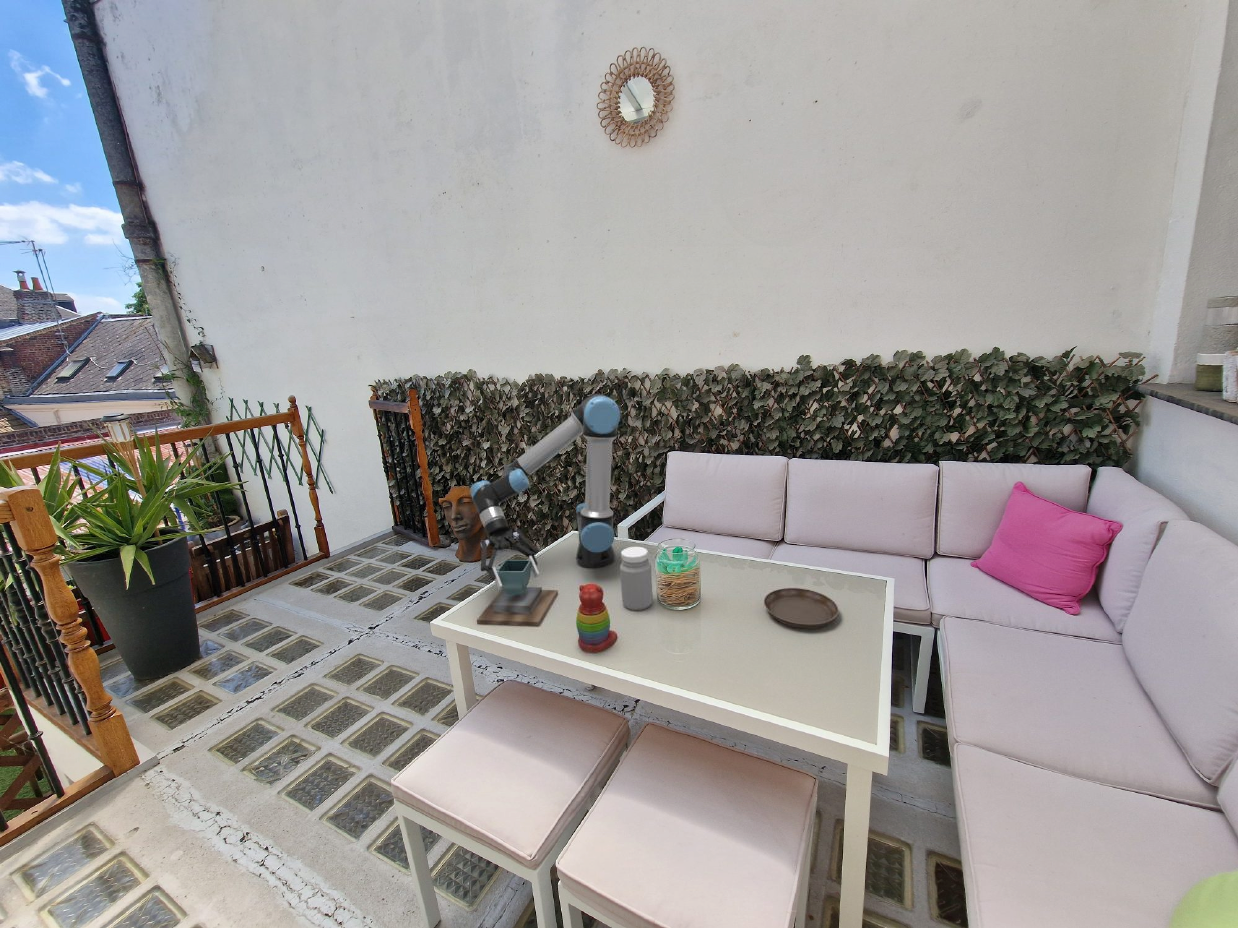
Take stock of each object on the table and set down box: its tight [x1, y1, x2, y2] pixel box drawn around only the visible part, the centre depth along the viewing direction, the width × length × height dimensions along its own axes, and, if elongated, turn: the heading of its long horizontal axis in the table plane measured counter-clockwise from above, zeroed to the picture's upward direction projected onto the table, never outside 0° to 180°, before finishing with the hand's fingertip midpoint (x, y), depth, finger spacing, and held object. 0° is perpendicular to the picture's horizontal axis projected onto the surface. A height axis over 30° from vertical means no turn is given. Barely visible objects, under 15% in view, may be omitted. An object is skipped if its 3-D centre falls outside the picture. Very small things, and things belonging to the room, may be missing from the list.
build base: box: [476, 586, 559, 627], centre depth 163 cm, size 20×20×4 cm
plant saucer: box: [763, 587, 839, 630], centre depth 149 cm, size 21×21×3 cm
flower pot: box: [496, 559, 532, 595], centre depth 161 cm, size 9×9×9 cm
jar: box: [619, 546, 654, 611], centre depth 159 cm, size 10×10×18 cm
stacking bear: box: [575, 583, 618, 653], centre depth 140 cm, size 11×10×18 cm
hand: (519, 581), depth 159 cm, fingers closed on flower pot, 12 cm apart
